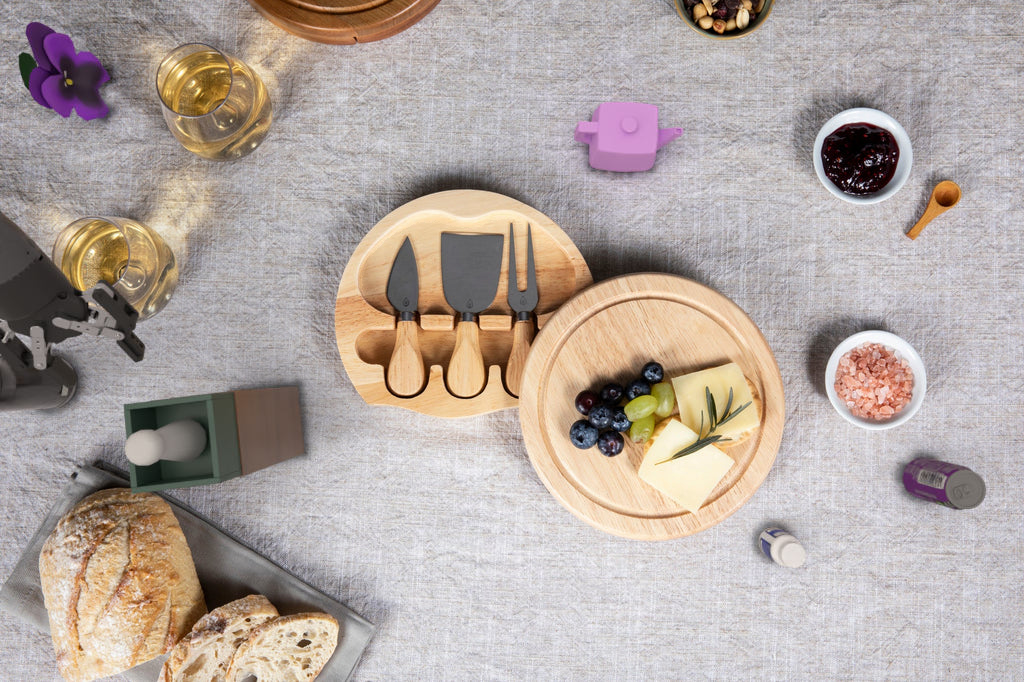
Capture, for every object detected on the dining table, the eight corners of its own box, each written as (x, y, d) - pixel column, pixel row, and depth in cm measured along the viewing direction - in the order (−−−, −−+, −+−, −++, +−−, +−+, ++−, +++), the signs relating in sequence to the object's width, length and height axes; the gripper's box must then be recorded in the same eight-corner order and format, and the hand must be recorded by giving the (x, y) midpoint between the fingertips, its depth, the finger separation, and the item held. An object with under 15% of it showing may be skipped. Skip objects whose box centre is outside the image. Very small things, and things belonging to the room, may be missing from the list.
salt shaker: (208, 463, 92) (156, 478, 79) (168, 454, 92) (109, 468, 79) (217, 421, 92) (167, 429, 79) (177, 413, 92) (121, 419, 79)
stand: (238, 461, 118) (158, 486, 92) (231, 394, 119) (149, 400, 93) (304, 453, 118) (243, 476, 92) (297, 386, 119) (234, 390, 93)
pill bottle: (778, 562, 116) (799, 578, 107) (752, 546, 116) (771, 561, 107) (794, 536, 116) (816, 550, 107) (768, 520, 116) (788, 533, 107)
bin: (159, 485, 92) (131, 494, 86) (151, 402, 93) (123, 404, 86) (242, 475, 92) (220, 483, 85) (233, 391, 93) (211, 393, 86)
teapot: (674, 118, 120) (688, 95, 109) (671, 176, 119) (685, 158, 109) (574, 114, 120) (579, 90, 110) (571, 171, 120) (575, 152, 109)
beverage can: (912, 505, 116) (957, 520, 104) (892, 468, 116) (935, 479, 104) (948, 486, 116) (997, 499, 104) (928, 449, 116) (975, 458, 104)
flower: (74, 142, 126) (115, 131, 120) (-19, 115, 113) (22, 101, 107) (77, 67, 127) (119, 52, 121) (-15, 32, 114) (26, 12, 107)
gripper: (-79, 311, 65) (42, 413, 76) (56, 260, 65) (158, 369, 76) (-50, 269, 71) (60, 370, 82) (75, 222, 71) (168, 329, 82)
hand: (107, 369), depth 79 cm, fingers open, 8 cm apart
